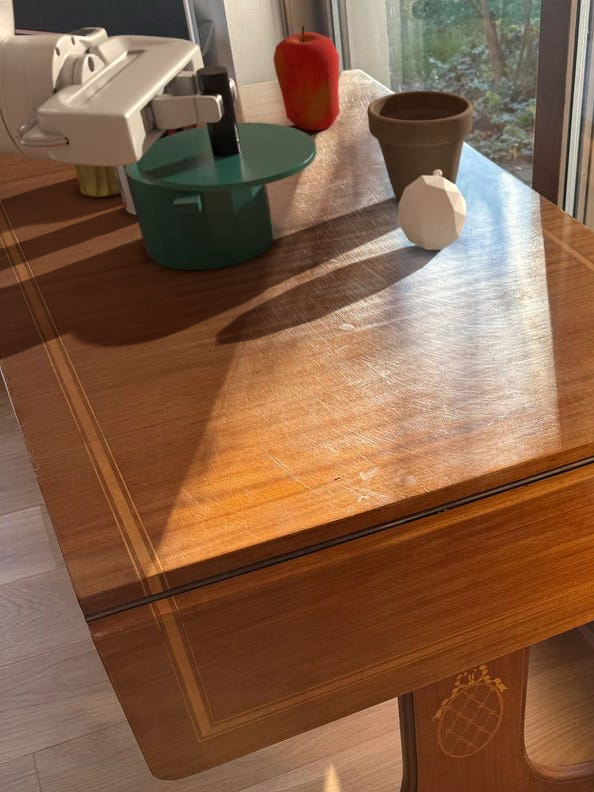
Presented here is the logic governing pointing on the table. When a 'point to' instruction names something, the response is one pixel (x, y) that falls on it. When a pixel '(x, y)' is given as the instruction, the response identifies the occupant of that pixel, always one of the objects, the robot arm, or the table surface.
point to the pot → (200, 223)
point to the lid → (226, 149)
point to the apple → (308, 79)
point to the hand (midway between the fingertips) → (227, 99)
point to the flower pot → (420, 134)
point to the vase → (97, 180)
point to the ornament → (432, 212)
